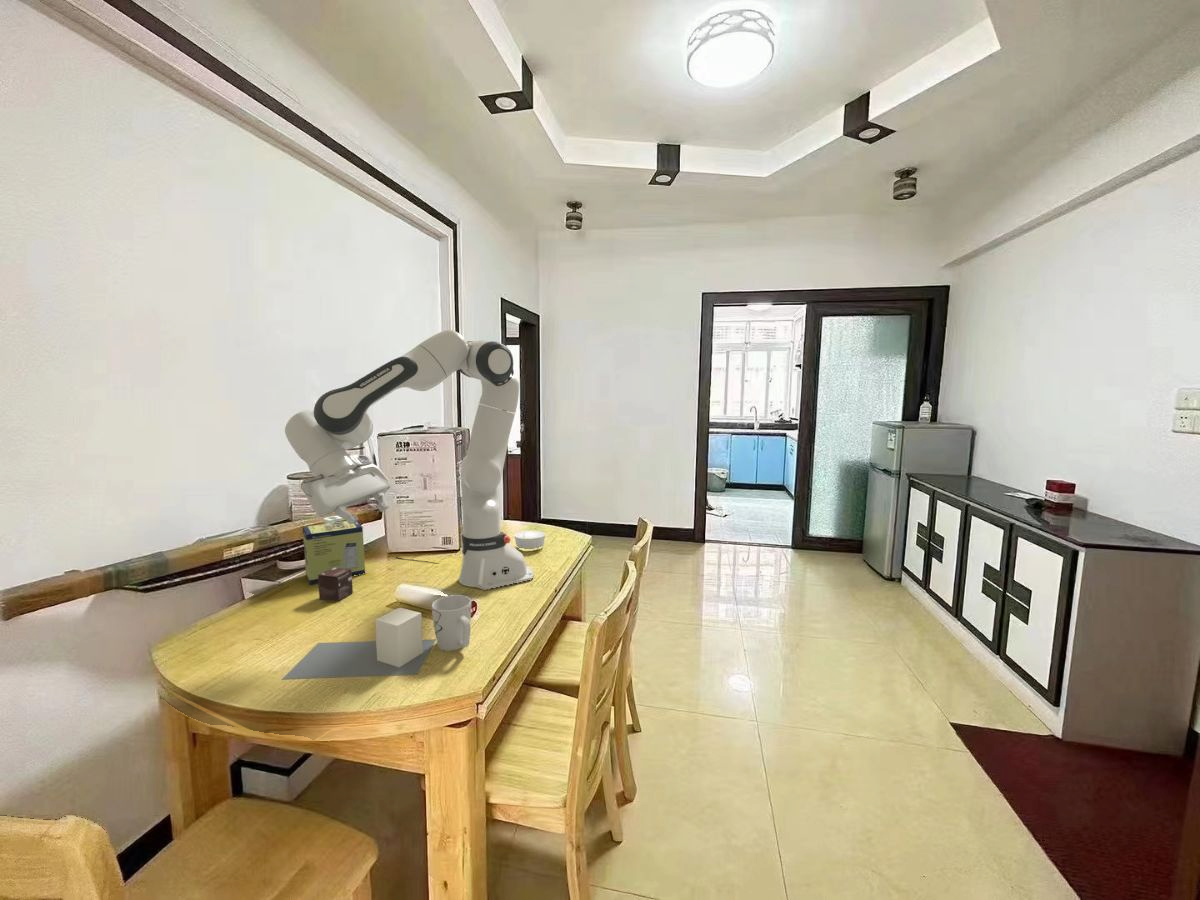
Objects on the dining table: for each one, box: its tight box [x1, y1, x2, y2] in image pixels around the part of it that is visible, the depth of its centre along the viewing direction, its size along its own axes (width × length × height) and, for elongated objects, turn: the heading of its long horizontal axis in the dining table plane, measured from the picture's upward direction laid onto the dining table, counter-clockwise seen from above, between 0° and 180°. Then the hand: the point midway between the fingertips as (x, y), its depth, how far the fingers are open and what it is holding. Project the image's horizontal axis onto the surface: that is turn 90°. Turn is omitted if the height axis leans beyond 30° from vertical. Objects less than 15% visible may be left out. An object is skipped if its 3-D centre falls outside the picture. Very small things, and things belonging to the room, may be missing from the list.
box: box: [317, 568, 354, 602], centre depth 133 cm, size 6×6×7 cm
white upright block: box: [374, 606, 423, 667], centre depth 102 cm, size 6×6×9 cm
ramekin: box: [514, 530, 546, 549], centre depth 177 cm, size 11×11×5 cm
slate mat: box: [281, 638, 437, 681], centre depth 102 cm, size 26×14×1 cm, turn 94°
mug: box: [431, 594, 472, 652], centre depth 107 cm, size 11×8×10 cm
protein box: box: [302, 520, 366, 586], centre depth 150 cm, size 10×16×16 cm
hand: (370, 515), depth 114 cm, fingers open, 8 cm apart
